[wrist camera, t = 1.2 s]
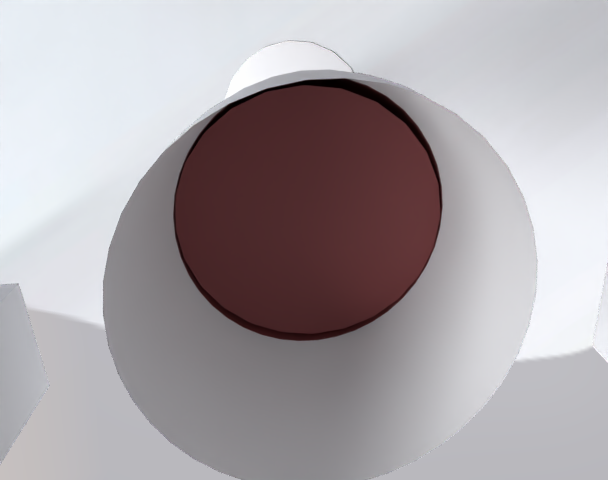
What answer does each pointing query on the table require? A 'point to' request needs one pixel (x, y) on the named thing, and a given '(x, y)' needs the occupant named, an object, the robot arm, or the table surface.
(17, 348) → the robot arm
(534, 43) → the table surface
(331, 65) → the wineglass
